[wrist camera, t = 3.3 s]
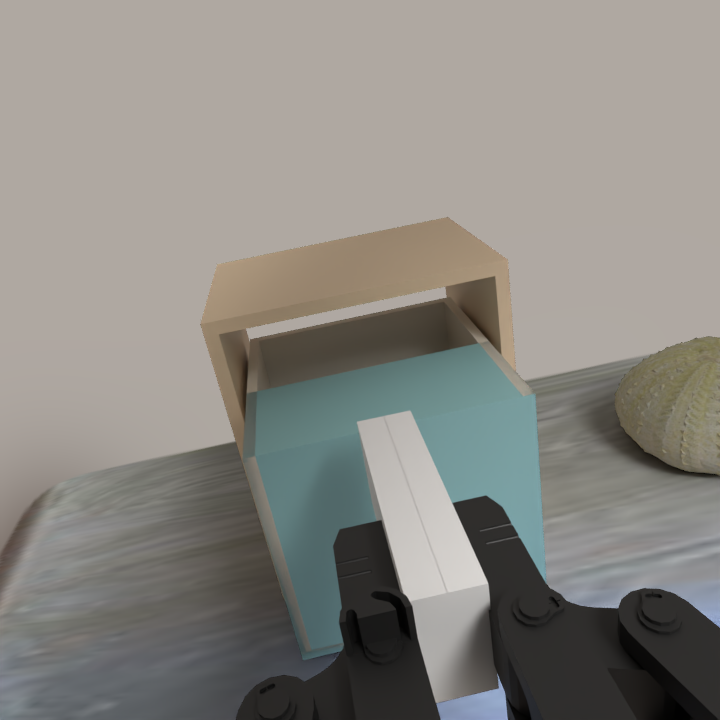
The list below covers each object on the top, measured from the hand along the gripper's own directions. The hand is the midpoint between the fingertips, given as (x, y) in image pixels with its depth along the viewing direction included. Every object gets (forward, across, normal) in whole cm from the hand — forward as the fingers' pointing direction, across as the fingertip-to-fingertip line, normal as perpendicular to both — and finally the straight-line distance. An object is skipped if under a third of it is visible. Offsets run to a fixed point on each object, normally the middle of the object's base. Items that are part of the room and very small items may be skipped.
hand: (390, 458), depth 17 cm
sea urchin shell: (+11, +18, -10) cm, 23 cm away
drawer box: (+7, 0, -9) cm, 12 cm away
